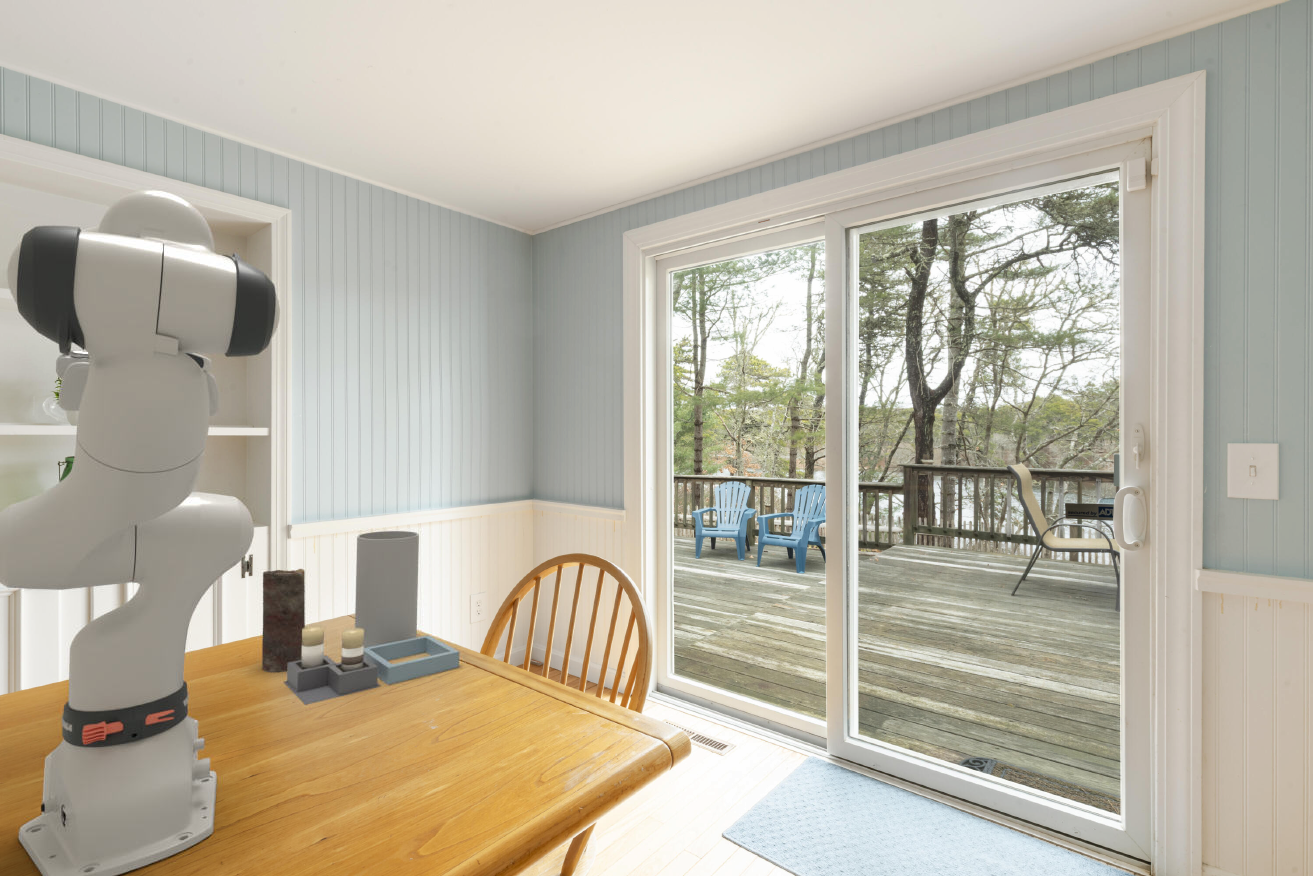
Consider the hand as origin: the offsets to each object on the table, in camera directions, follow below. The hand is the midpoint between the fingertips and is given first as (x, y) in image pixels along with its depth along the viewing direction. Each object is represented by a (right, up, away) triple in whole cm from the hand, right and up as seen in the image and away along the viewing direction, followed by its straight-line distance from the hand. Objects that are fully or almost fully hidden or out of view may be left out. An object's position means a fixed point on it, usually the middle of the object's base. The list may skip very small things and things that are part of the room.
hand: (142, 441), depth 103 cm
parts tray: (+34, -46, +24) cm, 62 cm away
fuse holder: (+23, -46, +14) cm, 53 cm away
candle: (+9, -46, +23) cm, 52 cm away
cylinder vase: (+24, -46, +37) cm, 63 cm away
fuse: (+20, -45, +15) cm, 51 cm away
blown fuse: (+27, -45, +14) cm, 54 cm away
